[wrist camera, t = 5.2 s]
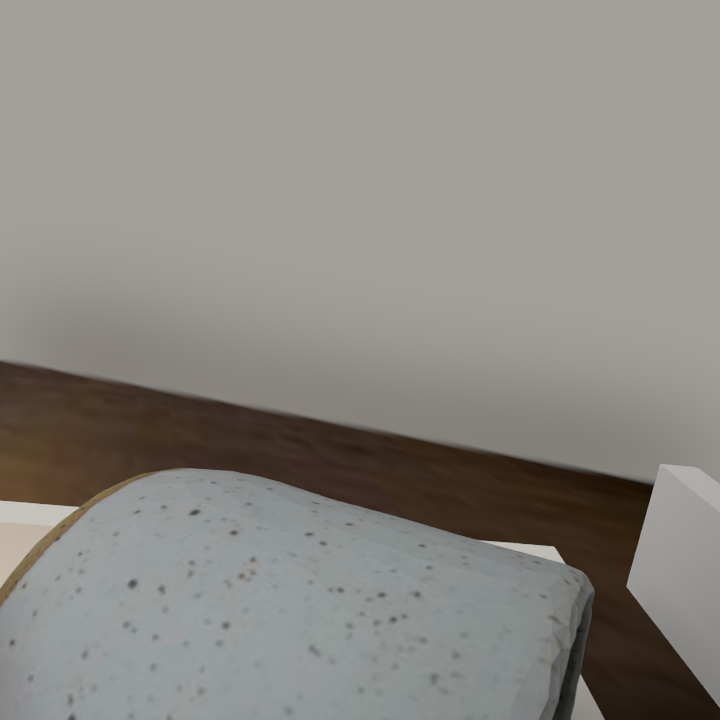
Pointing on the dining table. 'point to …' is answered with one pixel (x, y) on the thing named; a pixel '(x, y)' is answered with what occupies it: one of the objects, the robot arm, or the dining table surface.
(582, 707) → the bay rack
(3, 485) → the dining table surface
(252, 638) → the ceramic mug
